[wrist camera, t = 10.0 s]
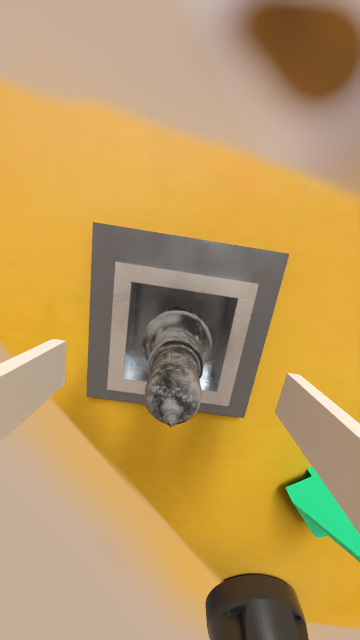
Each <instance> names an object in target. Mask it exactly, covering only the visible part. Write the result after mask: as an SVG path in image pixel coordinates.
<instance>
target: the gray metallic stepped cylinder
mask: <svg viewBox="0 0 360 640" xmlns="http://www.w3.org/2000/svg"><path fill="white" fill-rule="evenodd" d="M211 349H212V338H211V334H210V332H209V330H208V327H207V326H206V325H205V324H204V322H203V321H202V320H201V319H200V318H199V317H198V316H197V315H196V314H195V313H194V312H192V311H191V310H189V309H186V308H183V307H173V308H169V309H166V310H164V311H163V312H162V313H160V314H159V315H158V316H157V317H155V318H154V319H153V320H152V321H150V323H149V324H148V326H147V327H146V328H145V331H144V334H143V336H142V350H143V354H144V356H145V358H146V360H147V370H148V375H149V378H148V381H147V384H146V387H145V395H144V396H145V404H146V407H147V409H148V411H149V412H150V413H151V414H152V415H153V416H154V417H155V418H156V419H157V420H159V421H160V422H162V423H165V424H167V425H168V426H170V427H172V426H174V425H175V424H181V423H184V422H186V421H187V420H189V419H190V418H192V417H193V416H194V415H195V414H196V412H197V411H198V409H199V407H200V404H201V398H202V392H201V385H200V378H201V376H202V374H203V366H204V364H205V363H206V362H207V361H208V358H209V356H210V354H211Z"/></svg>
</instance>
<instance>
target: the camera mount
mask: <svg viewBox="0 0 360 640" xmlns="http://www.w3.org/2000/svg"><path fill="white" fill-rule="evenodd" d="M307 470H308V471H309V473H310V475H311V477H309V478H307V479H304V480H302V481H300V482H297V483H295V484H293V485H290V486H288V487H286V490H287V492H288V494H289V496H290V498H291V500H292V502H293V504H294V505H295V507H296V508H297V510H298V511H299V513H300V515H301V516H302V518H303V519H304V521H305V522H306V524H307V525H308V527H309V528H310V530H311V532H312V533H313V535H314V536H316V537H325V536H327V535H328V536H329V537H331V538H332V539H333V540H334V541H335V542H337V543H338V544H339V545H340V546H341V547H342V548H344V549H345V550H346V551H347V552H348V553H350V554H351V555H352V556H353V557H354V558H356V559H357V560H358V561H359V562H360V534H359V533H358V531H357V530H356V529H355V527H354V526H353V524H352V523H351V521H350V520H349V518H348V517H347V516H346V514H345V513H344V511H343V510H342V508H341V507H340V505H339V504H338V503H337V501H336V500H335V498H334V497H333V495H332V494H331V493H330V491H329V490H328V488H327V487H326V485H325V484H324V482H323V481H322V480H321V478H320V477H319V475H318V474H317V472H316V471H315V469H314V468H313V467H310V468H308V469H307Z"/></svg>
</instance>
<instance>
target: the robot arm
mask: <svg viewBox="0 0 360 640" xmlns="http://www.w3.org/2000/svg"><path fill="white" fill-rule="evenodd" d="M65 382H66V341H64V340H57V339H52V340H50V341H47V342H45V343H43V344H41V345H39V346H37V347H35V348H33V349H30V350H28V351H26V352H24V353H22V354H20V355H18V356H16V357H13V358H11V359H9V360H7V361H5V362H3V363H1V364H0V442H1V441H2V440H3V439H4V438H5V437H7V436H8V435H9V434H10V433H11V432H12V431H13V430H14V429H15V428H16V427H18V426H19V425H20V424H21V423H22V422H23V421H24V420H25V419H26V418H28V417H29V416H30V415H31V414H32V413H33V412H34V411H35V410H36V409H37V408H39V407H40V406H41V405H42V404H43V403H44V402H45V401H46V400H47V399H49V398H50V397H51V396H52V395H53V394H54V393H55V392H56V391H57V390H59V389H60V388H61V387H62V386H63V385H64V384H65ZM275 413H276V415H277V416H278V418H279V419H280V420H281V422H282V423H283V425H284V426H285V428H286V429H287V431H288V432H289V433H290V435H291V436H292V438H293V439H294V441H295V442H296V444H297V445H298V446H299V448H300V449H301V451H302V452H303V454H304V455H305V456H306V458H307V459H308V461H309V462H310V464H311V465H312V467H313V468H314V469H315V471H316V472H317V474H318V475H319V477H320V478H321V480H322V481H323V482H324V484H325V485H326V487H327V488H328V490H329V491H330V493H331V494H332V495H333V497H334V498H335V500H336V501H337V503H338V504H339V505H340V507H341V508H342V510H343V511H344V513H345V514H346V516H347V517H348V518H349V520H350V521H351V523H352V524H353V526H354V527H355V529H356V530H357V531H358V533H359V534H360V424H359V423H358V422H357V421H355V420H354V419H353V418H352V417H351V416H349V415H348V414H347V413H346V412H344V411H343V410H342V409H341V408H340V407H338V406H337V405H336V404H335V403H333V402H332V401H331V400H330V399H329V398H327V397H326V396H325V395H324V394H322V393H321V392H320V391H319V390H318V389H316V388H315V387H314V386H313V385H311V384H310V383H309V382H308V381H307V380H305V379H304V378H303V377H302V376H300V375H297V374H291V373H287V375H286V378H285V382H284V385H283V388H282V391H281V395H280V398H279V401H278V404H277V407H276V411H275ZM206 617H207V628H208V633H209V637H210V640H309V638H308V633H307V628H306V622H305V618H304V615H303V612H302V609H301V606H300V603H299V601H298V598H297V595H296V593H295V591H294V590H293V588H292V587H291V586H290V585H288V584H287V583H285V582H284V581H282V580H280V579H277V578H274V577H270V576H265V575H244V576H238V577H234V578H231V579H228V580H226V581H224V582H222V583H220V584H219V585H217V586H216V587H215V588H214V589H213V590H212V591H211V592H210V593H209V595H208V597H207V599H206Z"/></svg>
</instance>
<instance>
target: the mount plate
mask: <svg viewBox="0 0 360 640" xmlns="http://www.w3.org/2000/svg"><path fill="white" fill-rule="evenodd" d="M288 257H289V254H286V253H280V252H274V251H268V250H262V249H255V248H249V247H243V246H237V245H231V244H225V243H218V242H212V241H206V240H200V239H194V238H187V237H181V236H175V235H169V234H163V233H157V232H150V231H144V230H138V229H132V228H126V227H120V226H113V225H107V224H101V223H95V222H93V238H92V265H91V292H90V319H89V345H88V372H87V397H95V398H102V399H109V400H116V401H124V402H131V403H138V404H145V396H144V395H145V387H146V384H147V381H148V378H149V375H148V370H147V360H146V358H145V356H144V354H143V350H142V336H143V334H144V331H145V328H146V327H147V326H148V324H149V323H150V321H152V320H153V319H154V318H155V317H157V316H158V315H159V314H160V313H162V312H163V311H164V310H166V309H169V308H173V307H183V308H186V309H189V310H191V311H192V312H194V313H195V314H196V315H197V316H198V317H199V318H200V319H201V320H202V321H203V322H204V324H205V325H206V326H207V327H208V330H209V332H210V334H211V338H212V349H211V354H210V356H209V358H208V361H207V362H206V363H205V364H204V366H203V374H202V376H201V378H200V385H201V392H202V398H201V404H200V407H199V409H198V411H197V412H204V413H211V414H218V415H226V416H233V417H240V418H244V416H245V412H246V409H247V405H248V401H249V398H250V394H251V391H252V387H253V383H254V380H255V376H256V373H257V369H258V365H259V362H260V358H261V354H262V351H263V347H264V344H265V340H266V336H267V333H268V329H269V325H270V322H271V318H272V315H273V311H274V307H275V304H276V300H277V296H278V293H279V289H280V286H281V282H282V278H283V275H284V271H285V267H286V264H287V260H288Z"/></svg>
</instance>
